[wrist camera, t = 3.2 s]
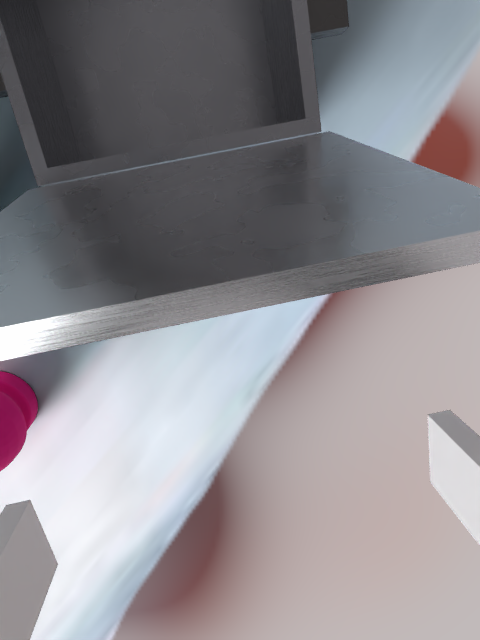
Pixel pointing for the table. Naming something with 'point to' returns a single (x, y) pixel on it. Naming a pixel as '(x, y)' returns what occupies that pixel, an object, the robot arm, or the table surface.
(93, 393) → the table surface
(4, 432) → the pepper mill
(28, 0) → the gray box
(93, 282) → the lid
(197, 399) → the table surface
